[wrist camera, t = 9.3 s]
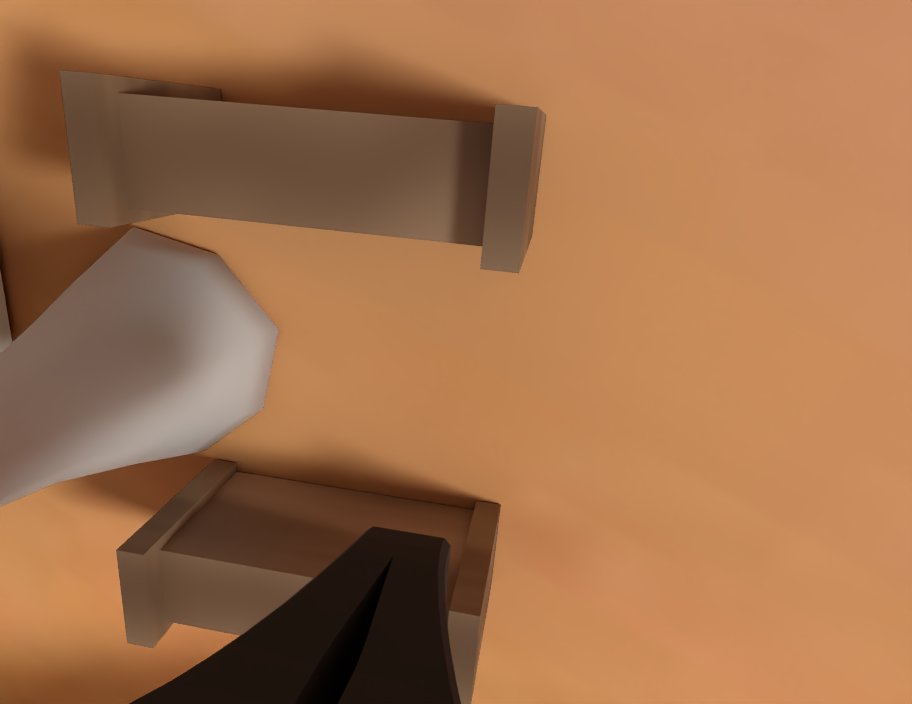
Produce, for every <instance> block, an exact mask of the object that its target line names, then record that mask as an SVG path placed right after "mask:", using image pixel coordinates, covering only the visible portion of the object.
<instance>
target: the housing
mask: <svg viewBox="0 0 912 704" xmlns="http://www.w3.org/2000/svg"><path fill="white" fill-rule="evenodd" d="M59 73H60V81H61V89H62V98H63V106H64V115H65V123H66V132H67V140H68V148H69V157H70V165H71V174H72V182H73V190H74V199H75V207H76V216H77V224H81V225H90V226H99V227H108V228H111V227H116V226H121V225H126V224H130V223H135V222H140V221H145V220H150V219H155V218H160V217H164V216H169V215H174V214H185V215H194V216H204V217H213V218H222V219H232V220H241V221H251V222H260V223H269V224H279V225H288V226H297V227H307V228H316V229H326V230H335V231H344V232H354V233H363V234H372V235H382V236H391V237H401V238H410V239H419V240H429V241H438V242H447V243H457V244H466V245H476V246H482V257H481V268H480V269H485V270H494V271H503V272H512V273H519V271H520V269H521V266H522V263H523V260H524V257H525V254H526V252H527V249H528V246H529V243H530V240H531V237H532V232H533V224H534V215H535V207H536V198H537V189H538V181H539V172H540V164H541V155H542V147H543V138H544V130H545V121H546V114H545V113H544V112H542V111H541V110H540V109H539V108H538V107H528V106H515V105H502V104H495V115H494V124H492V123H480V122H468V121H456V120H443V119H431V118H419V117H407V116H394V115H382V114H370V113H358V112H345V111H333V110H321V109H309V108H296V107H284V106H272V105H260V104H247V103H235V102H223V101H221V89H216V88H209V87H201V86H193V85H185V84H177V83H170V82H162V81H154V80H146V79H138V78H131V77H123V76H115V75H107V74H99V73H90V72H77V71H64V70H59ZM500 506H501V505H500V504H494V503H487V502H481V501H476V505H475V509H474V510H473V509H467V508H461V507H454V506H448V505H442V504H436V503H429V502H423V501H417V500H411V499H404V498H398V497H392V496H386V495H380V494H373V493H367V492H361V491H355V490H348V489H342V488H336V487H330V486H323V485H317V484H311V483H305V482H299V481H292V480H286V479H280V478H274V477H267V476H261V475H255V474H249V473H242V472H237V463H235V462H229V461H222V460H216V459H215V460H214V461H212V462H211V463H210V464H209V465H208V466H207V467H206V468H205V469H204V470H203V471H202V472H201V473H199V474H198V475H197V476H196V477H195V478H194V479H193V480H192V481H191V482H190V483H189V484H188V485H186V486H185V487H184V488H183V489H182V490H181V491H180V492H179V493H178V494H177V495H176V496H174V497H173V498H172V499H171V500H170V501H169V502H168V503H167V504H166V505H165V506H164V507H163V508H161V509H160V510H159V511H158V512H157V513H156V514H155V515H154V516H153V517H152V518H151V519H150V520H148V521H147V522H146V523H145V524H144V525H143V526H142V527H141V528H140V529H139V530H138V531H137V532H135V533H134V534H133V535H132V536H131V537H130V538H129V539H128V540H127V541H126V542H125V543H124V544H122V545H121V546H120V547H119V548H118V549H117V550H116V552H117V560H118V569H119V577H120V586H121V594H122V602H123V611H124V619H125V628H126V636H127V643H130V644H135V645H140V646H144V647H149V648H154V646H155V645H156V644H157V643H158V641H159V640H160V639H161V638H162V636H163V635H164V634H165V633H166V631H167V630H168V629H169V628H170V626H171V625H172V624H173V623H179V624H184V625H189V626H194V627H199V628H204V629H209V630H214V631H220V632H225V633H230V634H235V635H240V636H241V635H242V634H243V633H245V632H246V631H247V630H249V629H250V628H251V627H253V626H254V625H255V624H257V623H258V622H259V621H261V620H262V619H263V618H265V617H266V616H267V615H269V614H270V613H271V612H273V611H274V610H275V609H277V608H278V607H279V606H281V605H282V604H283V603H284V602H286V601H287V600H288V599H289V598H291V597H292V596H293V595H294V594H295V593H297V592H298V591H299V590H300V589H301V588H303V587H304V586H305V585H306V584H307V583H308V582H310V581H311V580H312V579H313V578H314V577H316V576H317V575H318V574H319V573H320V572H322V571H323V570H324V569H325V568H326V567H327V566H328V565H329V564H331V563H332V562H333V561H334V560H335V559H336V558H337V557H338V556H340V555H341V554H342V553H343V552H344V551H345V550H346V549H347V548H348V547H349V546H351V545H352V544H353V543H354V542H355V541H356V540H357V539H358V538H359V537H360V536H361V535H362V534H364V533H365V532H366V531H367V530H368V529H370V528H371V527H373V526H375V527H381V528H387V529H393V530H399V531H405V532H411V533H417V534H423V535H429V536H435V537H441V538H445V539H446V540H447V541H448V543H449V544H450V545H451V548H450V559H449V571H448V582H447V594H446V615H447V624H448V634H449V642H450V648H451V655H452V661H453V666H454V671H455V677H456V682H457V687H458V692H459V696H460V701H461V704H471V701H472V695H473V689H474V683H475V677H476V671H477V665H478V660H479V654H480V648H481V642H482V636H483V630H484V624H485V618H486V613H487V607H488V601H489V595H490V589H491V583H492V574H493V565H494V557H495V548H496V540H497V531H498V523H499V514H500Z"/></svg>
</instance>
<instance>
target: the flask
mask: <svg viewBox="0 0 912 704" xmlns="http://www.w3.org/2000/svg"><path fill="white" fill-rule="evenodd" d="M278 332H279V329H278V328H277V327H276V325H275V324H274V323H273V322H272V320H271V319H270V318H269V317H268V315H267V314H266V313H265V312H264V310H263V309H262V308H261V307H260V305H259V304H258V303H257V302H256V300H255V299H254V298H253V297H252V295H251V294H250V293H249V292H248V291H247V289H246V288H245V287H244V286H243V284H242V283H241V282H240V281H239V279H238V278H237V277H236V276H235V274H234V273H233V272H232V271H231V269H230V268H229V267H228V266H227V264H226V263H225V262H224V261H223V259H222V258H221V257H220V256H219V255H217V254H214V253H211V252H208V251H205V250H202V249H199V248H196V247H193V246H190V245H187V244H184V243H181V242H178V241H175V240H172V239H169V238H166V237H163V236H160V235H157V234H154V233H151V232H148V231H145V230H142V229H139V228H135V227H132V228H131V229H130V230H129V231H128V232H127V233H126V234H125V235H124V236H122V237H121V238H120V239H119V240H118V241H117V242H116V243H115V244H114V245H113V246H112V247H111V248H110V249H108V250H107V251H106V252H105V253H104V254H103V255H102V256H101V257H100V258H99V259H98V260H97V261H96V262H95V263H94V264H92V265H91V266H90V267H89V268H88V269H87V270H86V271H85V272H84V273H83V274H82V275H81V276H80V277H79V278H77V279H76V280H75V281H74V282H73V283H72V284H71V285H70V286H69V287H68V288H67V289H66V290H65V291H64V292H63V293H62V294H61V295H60V296H59V297H58V298H57V299H56V300H55V301H54V302H53V303H52V304H51V305H50V306H49V307H48V308H47V309H46V310H45V311H44V312H43V313H42V314H41V315H40V316H39V317H38V318H37V319H36V320H35V322H34V323H33V324H32V325H31V326H29V327H28V328H27V329H26V330H25V331H24V332H23V333H22V334H21V335H20V336H19V337H18V338H16V339H15V340H14V341H13V342H12V343H11V344H10V345H9V346H8V347H7V348H6V349H5V350H3V351H2V352H1V353H0V507H1V506H3V505H6V504H8V503H10V502H13V501H15V500H17V499H20V498H22V497H24V496H27V495H29V494H31V493H34V492H36V491H38V490H41V489H43V488H45V487H48V486H50V485H52V484H55V483H58V482H62V481H66V480H70V479H75V478H79V477H83V476H87V475H91V474H95V473H100V472H104V471H108V470H112V469H116V468H121V467H125V466H129V465H133V464H139V463H144V462H149V461H155V460H160V459H166V458H171V457H176V456H182V455H187V454H191V453H196V452H200V451H204V450H206V449H208V448H209V447H211V446H212V445H213V444H215V443H216V442H218V441H219V440H220V439H222V438H223V437H224V436H226V435H227V434H229V433H230V432H231V431H233V430H234V429H236V428H237V427H238V426H240V425H241V424H243V423H244V422H245V421H247V420H248V419H250V418H251V417H252V416H254V415H255V414H256V413H258V412H259V411H261V410H262V409H263V408H264V403H265V398H266V393H267V387H268V382H269V377H270V372H271V367H272V362H273V357H274V352H275V347H276V342H277V337H278Z"/></svg>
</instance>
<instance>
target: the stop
mask: <svg viewBox="0 0 912 704" xmlns="http://www.w3.org/2000/svg"><path fill="white" fill-rule="evenodd" d="M11 343H12V338H11V332H10V326H9V320H8V314H7V308H6V301H5V295H4V289H3V283H2V277H1V271H0V353H1V352H2V351H3V350H5V349H6V348H7V347H8V346H9V345H10V344H11Z"/></svg>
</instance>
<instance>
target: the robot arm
mask: <svg viewBox="0 0 912 704" xmlns="http://www.w3.org/2000/svg"><path fill="white" fill-rule="evenodd" d="M450 548H451V545H450V544H449V543H448V541H447V540H446V539H445V538H441V537H435V536H429V535H423V534H417V533H411V532H405V531H399V530H393V529H387V528H381V527H375V526H373V527H371V528H370V529H368V530H367V531H366V532H365V533H364V534H362V535H361V536H360V537H359V538H358V539H357V540H356V541H355V542H354V543H353V544H352V545H351V546H349V547H348V548H347V549H346V550H345V551H344V552H343V553H342V554H341V555H340V556H338V557H337V558H336V559H335V560H334V561H333V562H332V563H331V564H329V565H328V566H327V567H326V568H325V569H324V570H323V571H322V572H320V573H319V574H318V575H317V576H316V577H314V578H313V579H312V580H311V581H310V582H308V583H307V584H306V585H305V586H304V587H303V588H301V589H300V590H299V591H298V592H297V593H295V594H294V595H293V596H292V597H291V598H289V599H288V600H287V601H286V602H284V603H283V604H282V605H281V606H279V607H278V608H277V609H275V610H274V611H273V612H271V613H270V614H269V615H267V616H266V617H265V618H263V619H262V620H261V621H259V622H258V623H257V624H255V625H254V626H253V627H251V628H250V629H249V630H247V631H246V632H245V633H243V634H242V635H241V636H239V637H238V638H236V639H235V640H234V641H232V642H231V643H229V644H228V645H226V646H225V647H223V648H222V649H221V650H219V651H218V652H216V653H215V654H213V655H212V656H210V657H208V658H207V659H205V660H204V661H202V662H201V663H199V664H198V665H196V666H194V667H193V668H191V669H190V670H188V671H186V672H185V673H183V674H182V675H180V676H178V677H177V678H175V679H173V680H172V681H170V682H168V683H166V684H165V685H163V686H161V687H159V688H157V689H155V690H154V691H152V692H150V693H148V694H146V695H144V696H143V697H141V698H139V699H137V700H135V701H133V702H132V703H130V704H461V701H460V696H459V692H458V687H457V682H456V677H455V671H454V666H453V661H452V655H451V648H450V642H449V634H448V624H447V615H446V594H447V582H448V571H449V559H450Z"/></svg>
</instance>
